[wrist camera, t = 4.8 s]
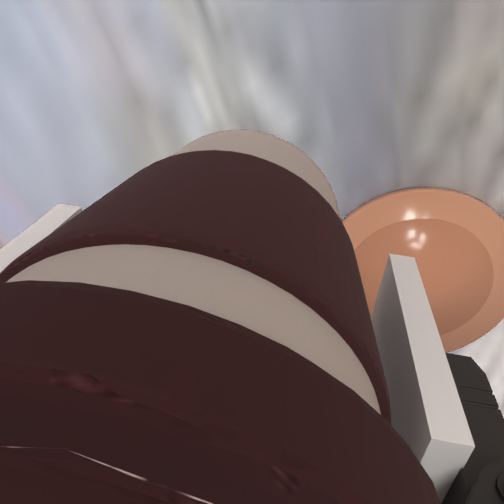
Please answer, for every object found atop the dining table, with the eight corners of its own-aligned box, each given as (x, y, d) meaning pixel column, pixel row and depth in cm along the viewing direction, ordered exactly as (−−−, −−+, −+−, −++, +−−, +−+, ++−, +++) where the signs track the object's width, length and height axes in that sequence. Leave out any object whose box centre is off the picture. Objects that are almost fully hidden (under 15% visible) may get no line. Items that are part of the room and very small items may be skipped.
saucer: (336, 173, 32) (336, 178, 31) (552, 202, 31) (560, 209, 30) (304, 333, 39) (304, 341, 38) (477, 362, 38) (481, 371, 37)
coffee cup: (257, 350, 21) (148, 900, 8) (83, 217, 19) (-440, 695, 6) (430, 216, 17) (784, 990, 4) (228, 19, 14) (-686, 261, 1)
